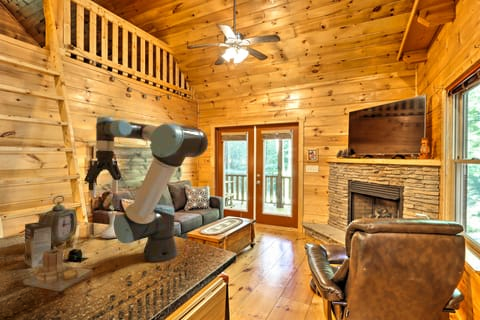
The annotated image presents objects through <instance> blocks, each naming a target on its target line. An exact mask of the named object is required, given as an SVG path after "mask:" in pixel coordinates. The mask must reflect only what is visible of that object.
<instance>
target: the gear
mask: <svg viewBox="0 0 480 320" xmlns="http://www.w3.org/2000/svg"><path fill="white" fill-rule="evenodd" d="M63 260H64V249H62V248H56V249H54V250H52V249H51V250H49V251H46V252H44V253H43V265H42V267H38V269H37V270H36V271H35V275H36V278H37V279H39V280H45V279H46V280H50V279H55V278H57V277H61V276H63V271H64V270H65V269H67V268H69V265H70V264H69V262H63Z"/></svg>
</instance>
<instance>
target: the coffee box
mask: <svg viewBox="0 0 480 320" xmlns="http://www.w3.org/2000/svg"><path fill="white" fill-rule="evenodd" d="M51 244H52V243H51V225H49V224H47V223H45V222H39V221H38V222H32V223H31V222H30V223H25V224H24V263H25V264H26V265H28V266H29V267H30V268H32V269H34V268H37V267H38V268H39V267H40V266H43V253H44V252H46V251H49V250H52V246H51Z"/></svg>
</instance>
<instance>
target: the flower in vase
mask: <svg viewBox="0 0 480 320" xmlns="http://www.w3.org/2000/svg"><path fill="white" fill-rule="evenodd" d="M113 194H114V193H112V192H111V193H110V192H109V194H108V195H107V196H106V199H104V202H103V204H102V205H103V207H107V206H108V204H109V203H110V206H109V209H110V210H111V211H107V214H108V218H109V225H108V226H107V228H105V229H104V230H102V232H100V233H99V235H100V237H101V238H103V239H114V238H117V237H116V235H115V232H114V226H113V224H114V219H115V217H116V216H117V213H118V211H114V210H115V207H114V205H113V202H112V199H113Z"/></svg>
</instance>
